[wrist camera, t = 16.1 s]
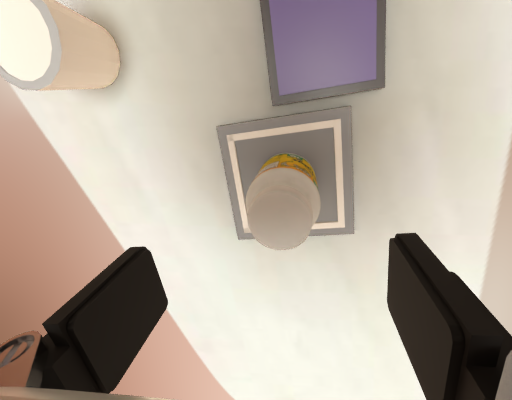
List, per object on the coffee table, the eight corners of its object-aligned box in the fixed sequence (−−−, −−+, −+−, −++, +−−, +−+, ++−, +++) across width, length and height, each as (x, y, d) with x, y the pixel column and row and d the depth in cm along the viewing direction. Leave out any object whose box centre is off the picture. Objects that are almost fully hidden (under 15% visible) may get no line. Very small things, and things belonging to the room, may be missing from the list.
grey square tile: (218, 126, 24) (215, 126, 23) (349, 106, 21) (351, 105, 21) (239, 237, 28) (237, 241, 27) (353, 230, 25) (354, 235, 24)
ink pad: (257, -31, 19) (254, -39, 18) (383, -66, 17) (388, -78, 16) (273, 105, 23) (272, 105, 21) (381, 88, 21) (385, 87, 20)
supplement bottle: (249, 172, 24) (218, 208, 16) (295, 140, 23) (291, 160, 14) (280, 215, 25) (267, 272, 17) (326, 187, 24) (341, 235, 15)
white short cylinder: (140, 69, 23) (79, 55, 17) (93, 108, 26) (22, 108, 19) (93, -5, 22) (7, -52, 15) (47, 43, 24) (-46, 19, 18)
